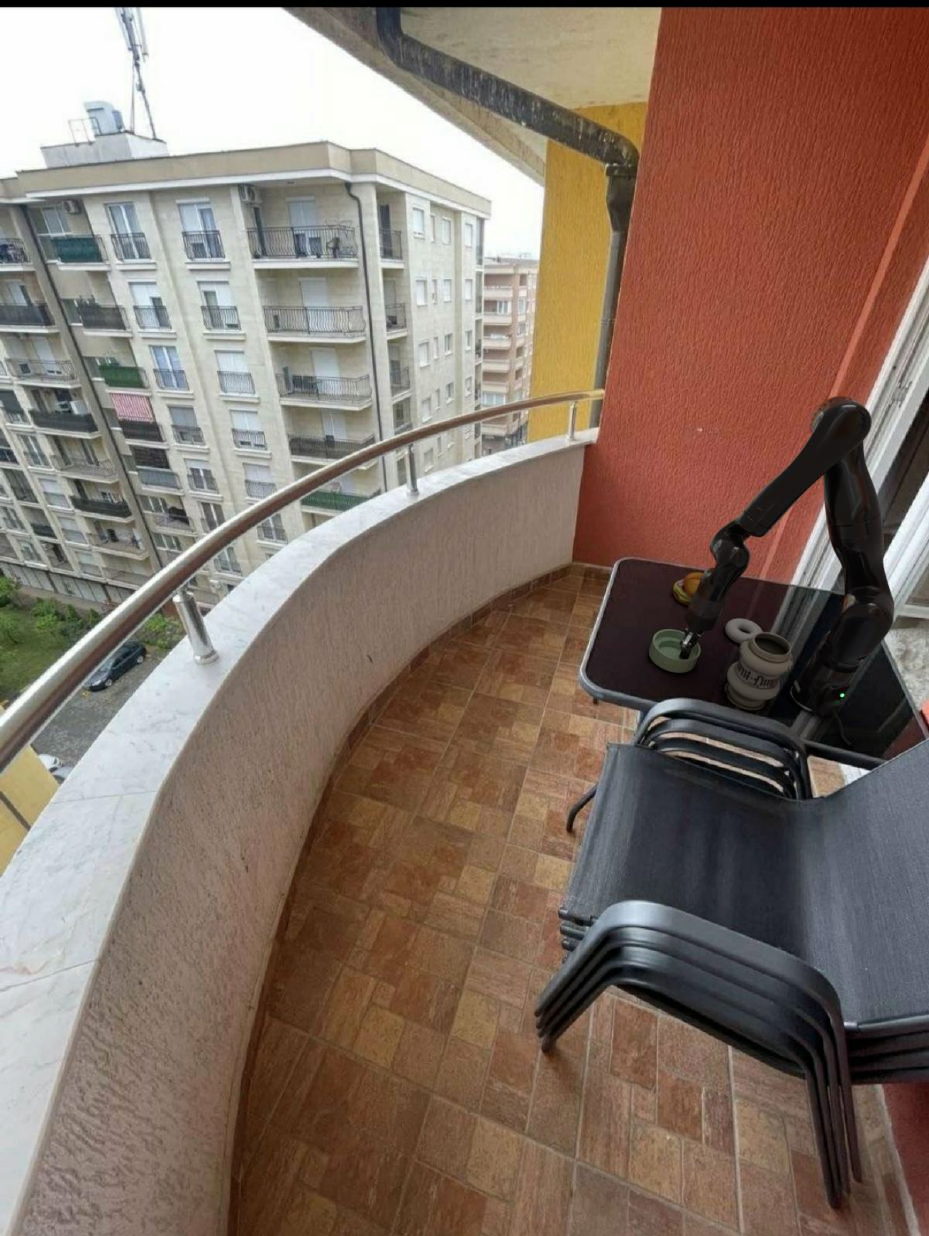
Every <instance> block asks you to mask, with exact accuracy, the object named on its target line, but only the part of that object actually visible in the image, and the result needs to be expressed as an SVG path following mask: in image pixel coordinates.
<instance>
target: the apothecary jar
mask: <svg viewBox="0 0 929 1236" xmlns="http://www.w3.org/2000/svg"><path fill="white" fill-rule="evenodd" d="M738 653H739V658H738V661H735V662H733V663H732V664H731V665H730V666H729V668H728V669H727V672H726V677H727V683H726V684H725V685H724V689H723V690H724V692H725V693H726V694H727V696H726V698H727V699H728V700H729V701H730V702H731V703H732V704H733V705H734V706H737V707H738V708H741V709H743V710H746V711H747V710H748V711H757V710H761V709H763V708H764V706H765V705H766V703H767V701H768V700H771V699H773V698H775V697H776V696H777V695H778V694H779V692H780V690H781V681H780V678H781V676H782V675H785V674H787V673H788V672H790V671H791V670H792V668H793V667H794V656H793V654H792V646H791V643H789V641H788V640H787V639H786V638H784V637H782V636H781V635H778V634H776V633H772V632H769V631H768V632H767V631H763V632H760V633H757V634H755V635H754V636H753V637H751V638H748V639H746V640H744V641H743V642H742V643H741V644H739V647H738Z"/></svg>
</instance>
